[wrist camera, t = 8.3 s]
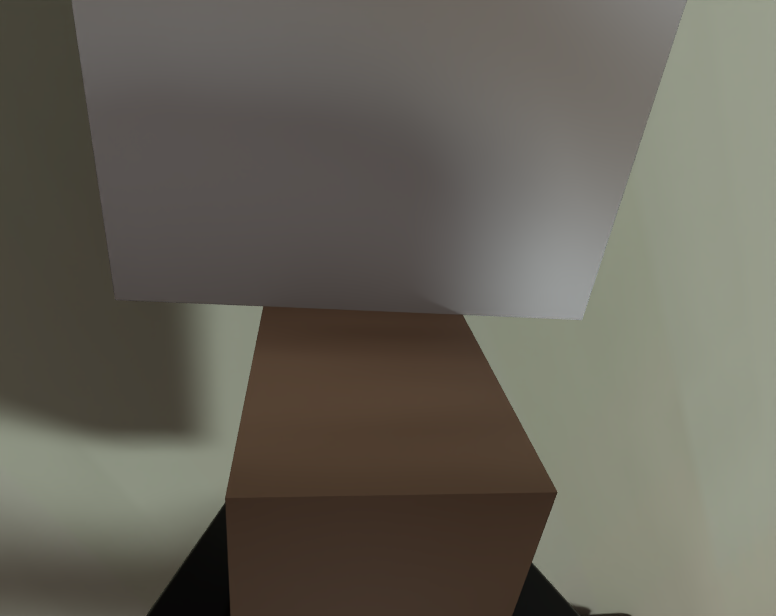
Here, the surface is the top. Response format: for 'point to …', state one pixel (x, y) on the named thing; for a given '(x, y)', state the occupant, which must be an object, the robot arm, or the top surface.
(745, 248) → the top surface
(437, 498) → the turner
